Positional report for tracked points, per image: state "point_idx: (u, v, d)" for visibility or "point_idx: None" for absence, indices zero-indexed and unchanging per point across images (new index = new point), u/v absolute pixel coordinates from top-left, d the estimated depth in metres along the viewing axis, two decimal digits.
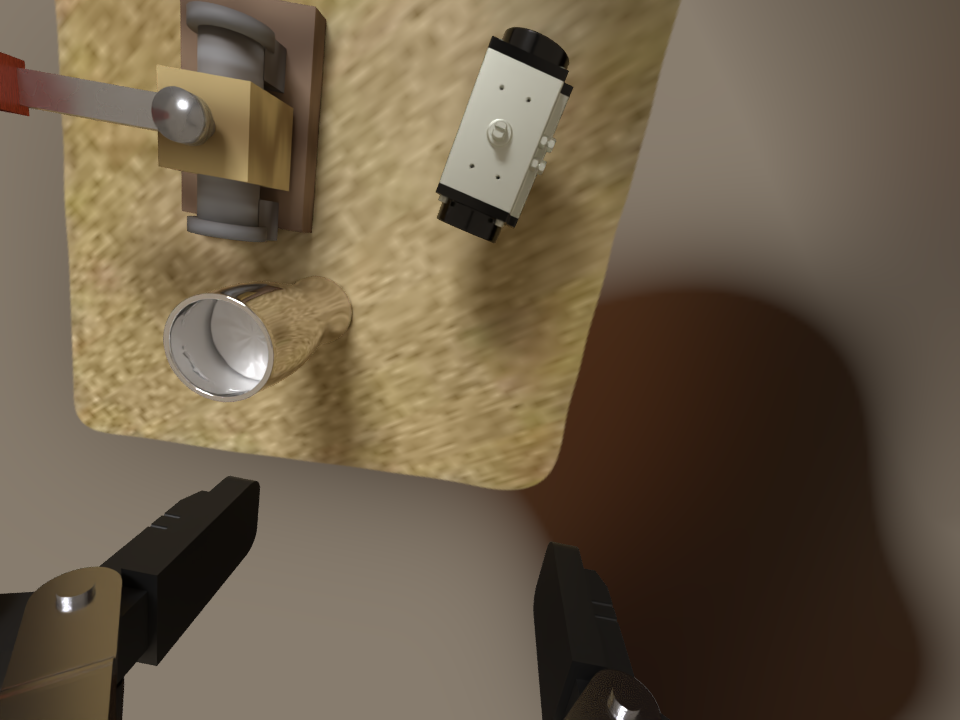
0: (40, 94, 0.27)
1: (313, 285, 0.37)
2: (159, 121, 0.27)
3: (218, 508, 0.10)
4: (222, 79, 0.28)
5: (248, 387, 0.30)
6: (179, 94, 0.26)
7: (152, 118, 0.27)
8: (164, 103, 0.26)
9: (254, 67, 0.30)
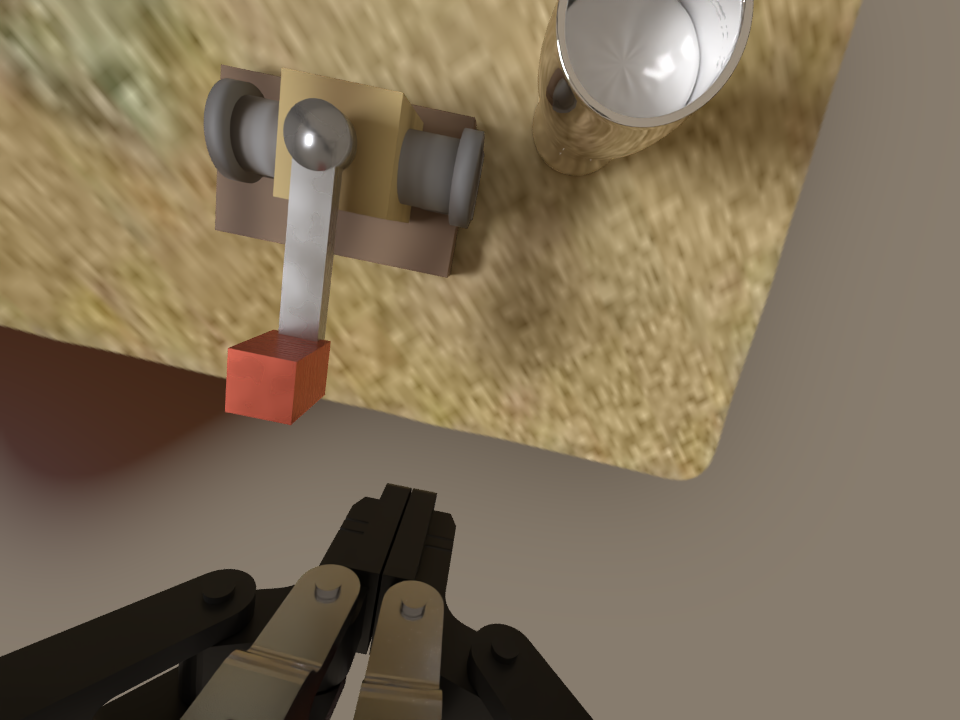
0: (304, 313, 0.22)
1: None
2: (325, 161, 0.20)
3: (395, 513, 0.11)
4: (282, 108, 0.22)
5: (713, 60, 0.18)
6: (292, 125, 0.20)
7: (322, 171, 0.20)
8: (304, 149, 0.20)
9: (275, 101, 0.24)
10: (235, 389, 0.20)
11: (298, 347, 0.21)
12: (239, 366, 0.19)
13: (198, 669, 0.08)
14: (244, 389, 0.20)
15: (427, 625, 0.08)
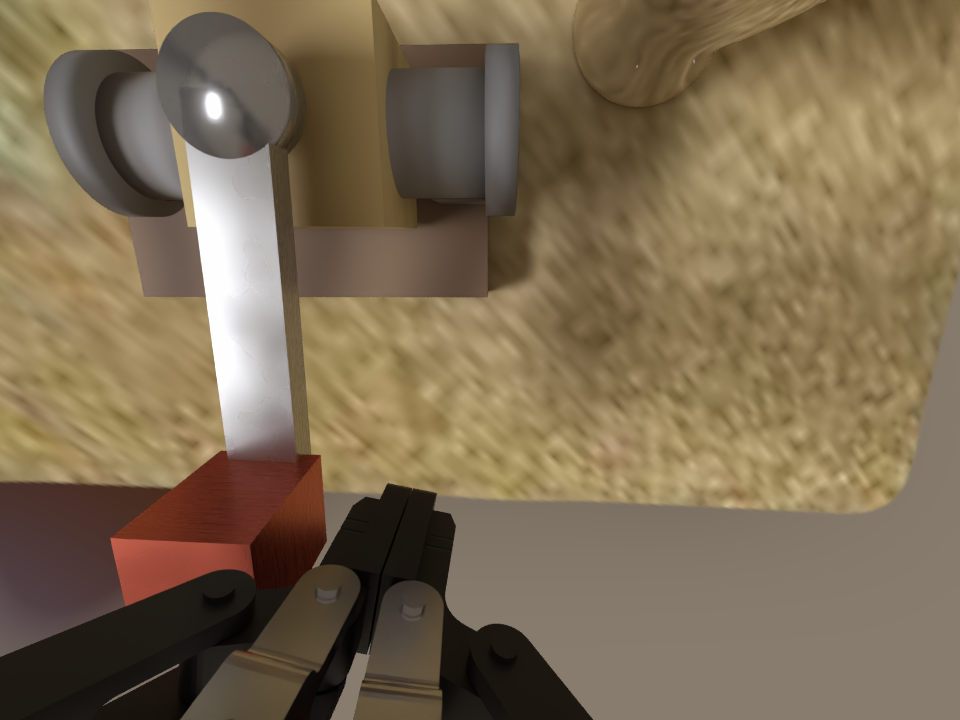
0: (265, 419, 0.12)
1: None
2: (248, 137, 0.11)
3: (395, 513, 0.11)
4: None
5: None
6: (171, 76, 0.10)
7: (246, 156, 0.11)
8: (203, 121, 0.10)
9: None
10: None
11: (259, 492, 0.11)
12: (141, 568, 0.10)
13: (198, 669, 0.08)
14: None
15: (427, 625, 0.08)
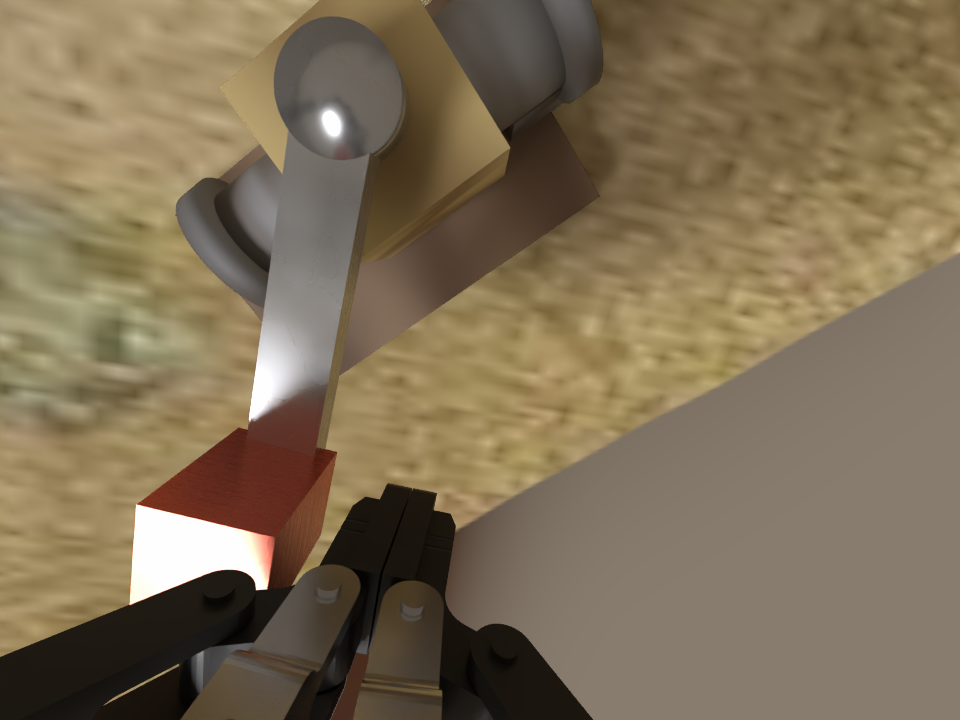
0: (295, 408, 0.13)
1: None
2: (351, 142, 0.11)
3: (395, 513, 0.11)
4: (265, 141, 0.13)
5: None
6: (291, 67, 0.10)
7: (344, 160, 0.11)
8: (312, 116, 0.11)
9: (252, 166, 0.16)
10: (150, 578, 0.10)
11: (281, 481, 0.11)
12: (159, 538, 0.10)
13: (198, 669, 0.08)
14: (168, 579, 0.10)
15: (427, 625, 0.08)
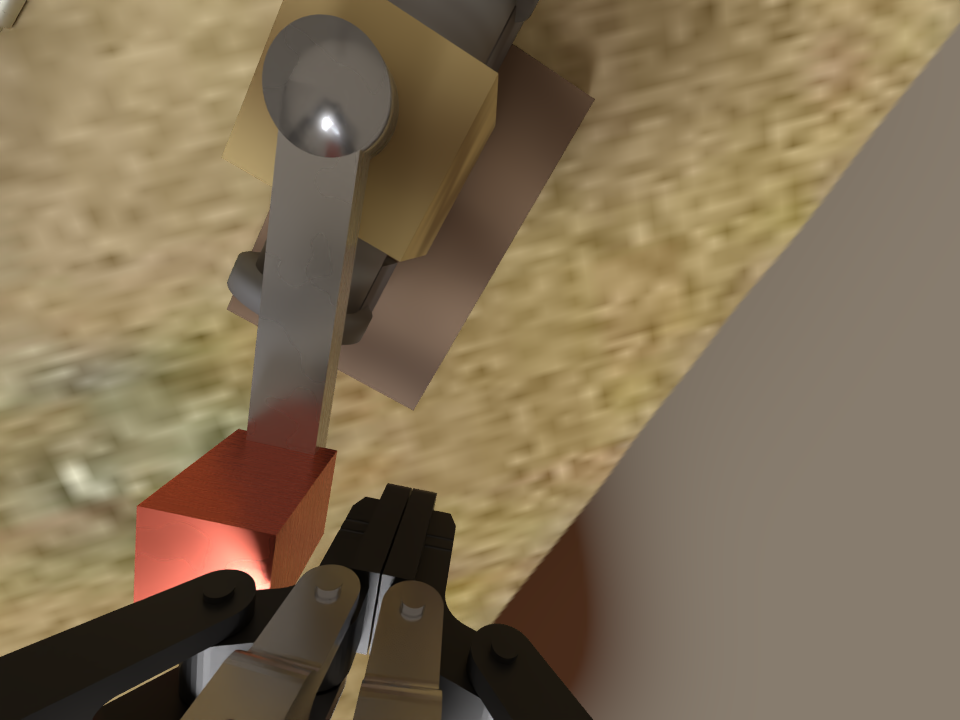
0: (293, 407, 0.13)
1: None
2: (341, 140, 0.11)
3: (395, 513, 0.11)
4: None
5: None
6: (279, 66, 0.10)
7: (335, 157, 0.11)
8: (301, 115, 0.11)
9: None
10: (153, 579, 0.10)
11: (281, 480, 0.12)
12: (160, 539, 0.10)
13: (198, 669, 0.08)
14: (171, 580, 0.10)
15: (427, 625, 0.08)
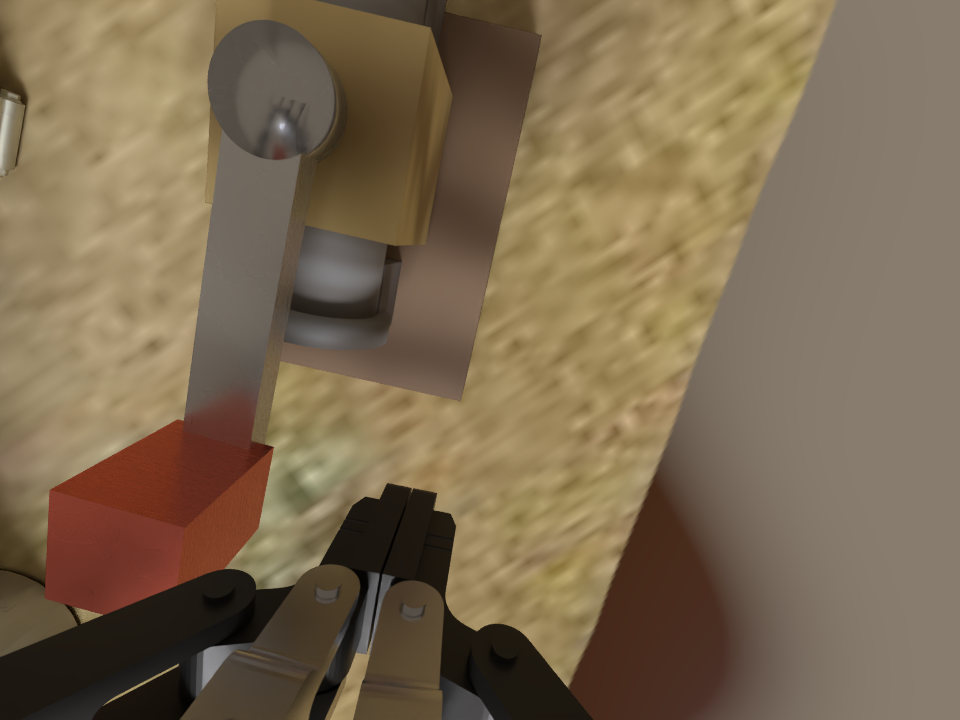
0: (229, 402, 0.13)
1: None
2: (283, 143, 0.11)
3: (395, 513, 0.11)
4: None
5: None
6: (225, 68, 0.11)
7: (277, 160, 0.11)
8: (245, 116, 0.11)
9: None
10: (64, 563, 0.10)
11: (206, 473, 0.12)
12: (72, 524, 0.10)
13: (198, 669, 0.08)
14: (81, 565, 0.10)
15: (427, 625, 0.08)
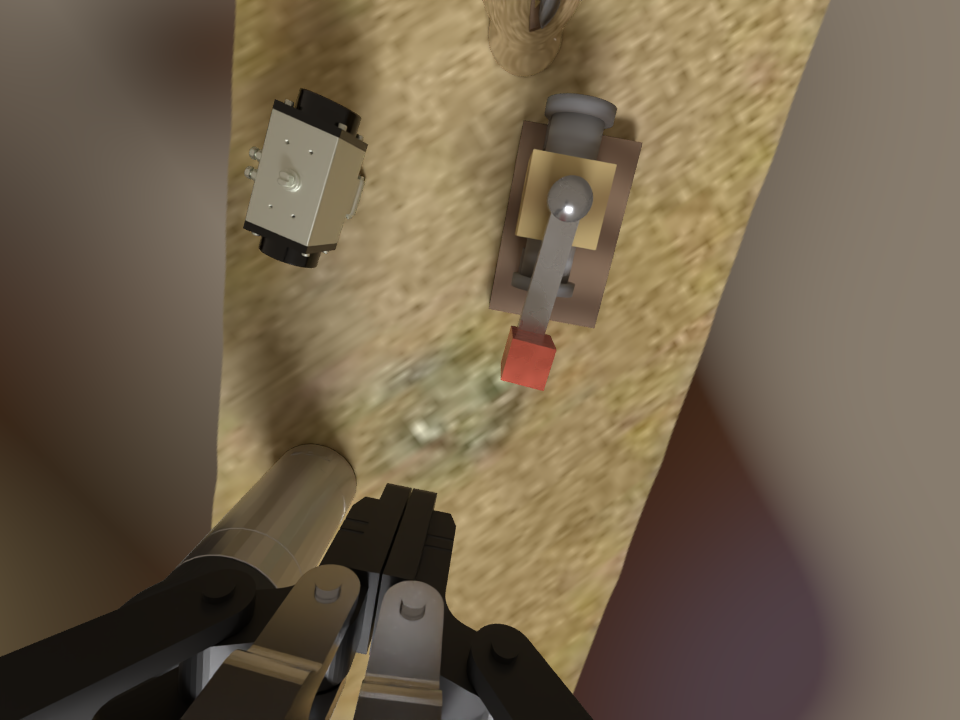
0: (539, 315, 0.33)
1: (514, 57, 0.35)
2: (573, 216, 0.30)
3: (395, 513, 0.11)
4: (540, 237, 0.33)
5: None
6: (555, 191, 0.30)
7: (570, 222, 0.31)
8: (560, 207, 0.30)
9: (525, 255, 0.36)
10: (511, 365, 0.30)
11: (542, 339, 0.31)
12: (517, 350, 0.30)
13: (198, 669, 0.08)
14: (517, 365, 0.30)
15: (427, 625, 0.08)
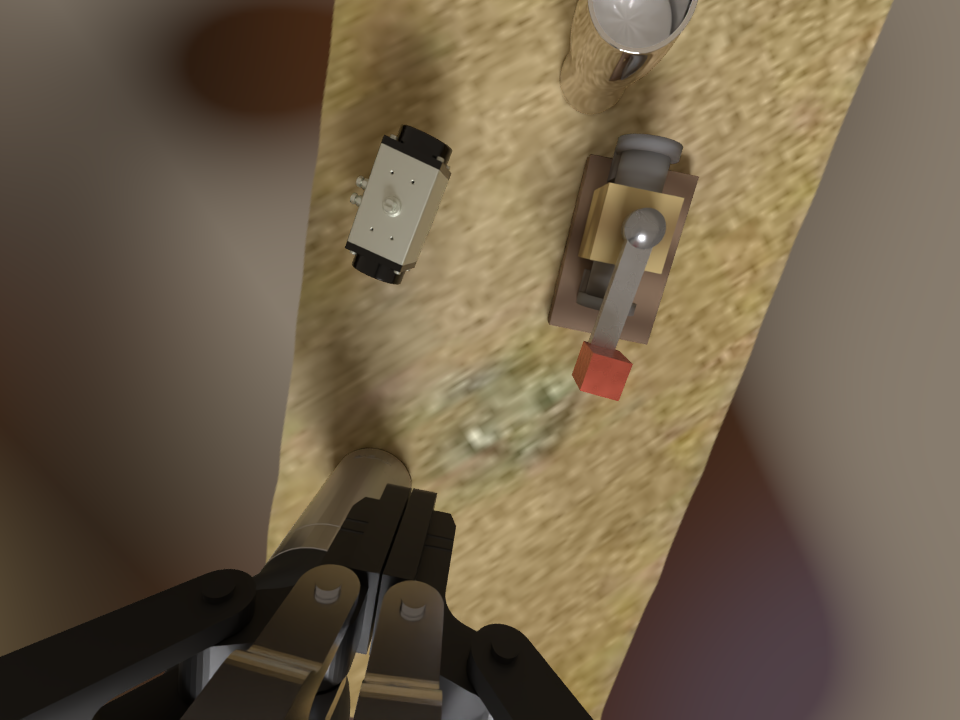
0: (610, 332, 0.36)
1: (586, 98, 0.39)
2: (647, 244, 0.34)
3: (395, 513, 0.11)
4: (611, 261, 0.37)
5: None
6: (632, 221, 0.33)
7: (644, 249, 0.34)
8: (636, 236, 0.34)
9: (592, 276, 0.39)
10: (590, 377, 0.33)
11: (616, 354, 0.35)
12: (597, 364, 0.33)
13: (198, 669, 0.08)
14: (596, 378, 0.33)
15: (427, 625, 0.08)
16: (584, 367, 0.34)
